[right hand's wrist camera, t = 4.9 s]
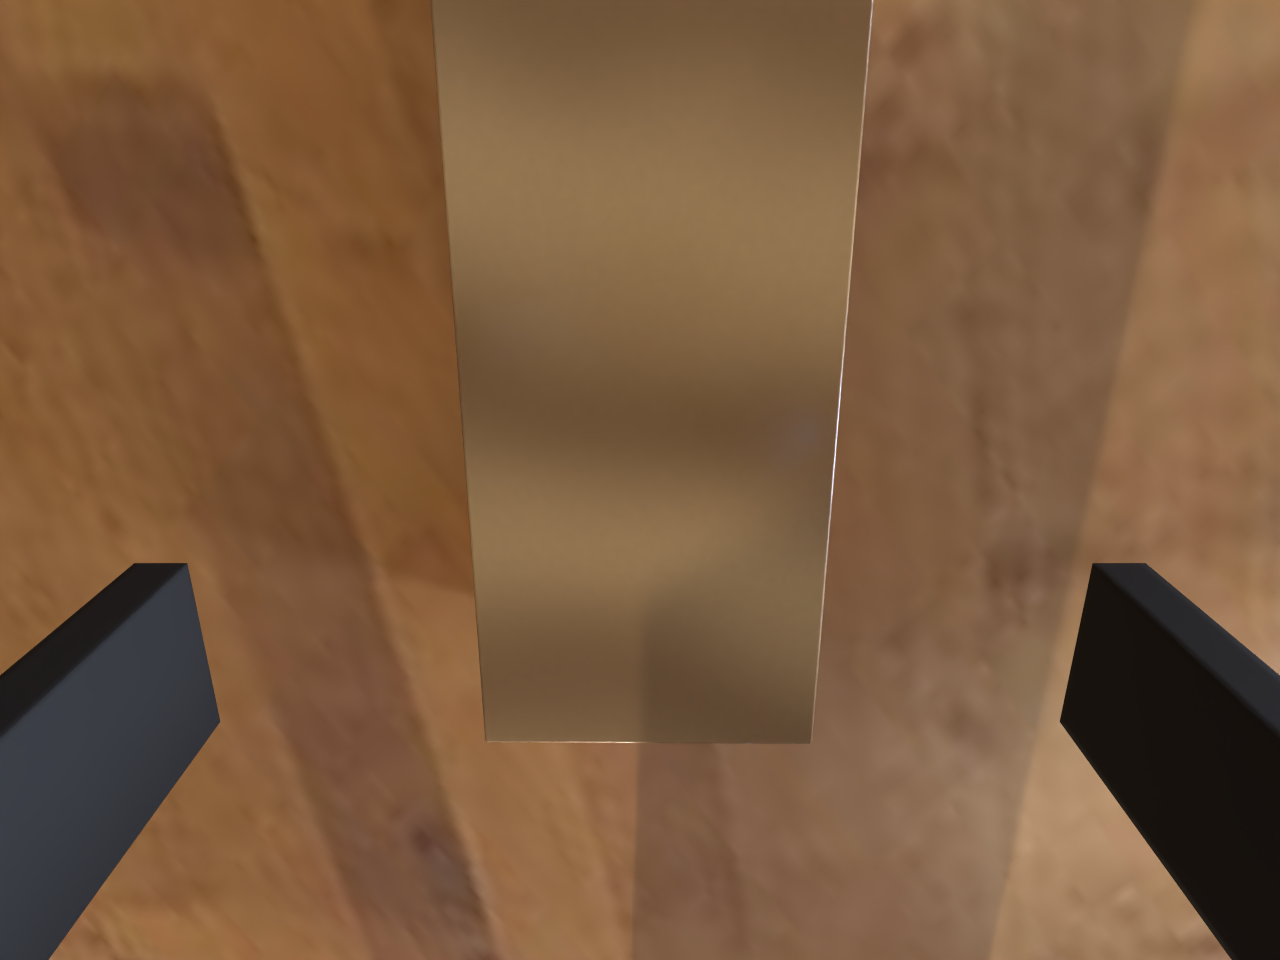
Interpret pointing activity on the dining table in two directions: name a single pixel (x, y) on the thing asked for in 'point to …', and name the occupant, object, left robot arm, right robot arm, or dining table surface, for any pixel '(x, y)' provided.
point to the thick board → (650, 352)
